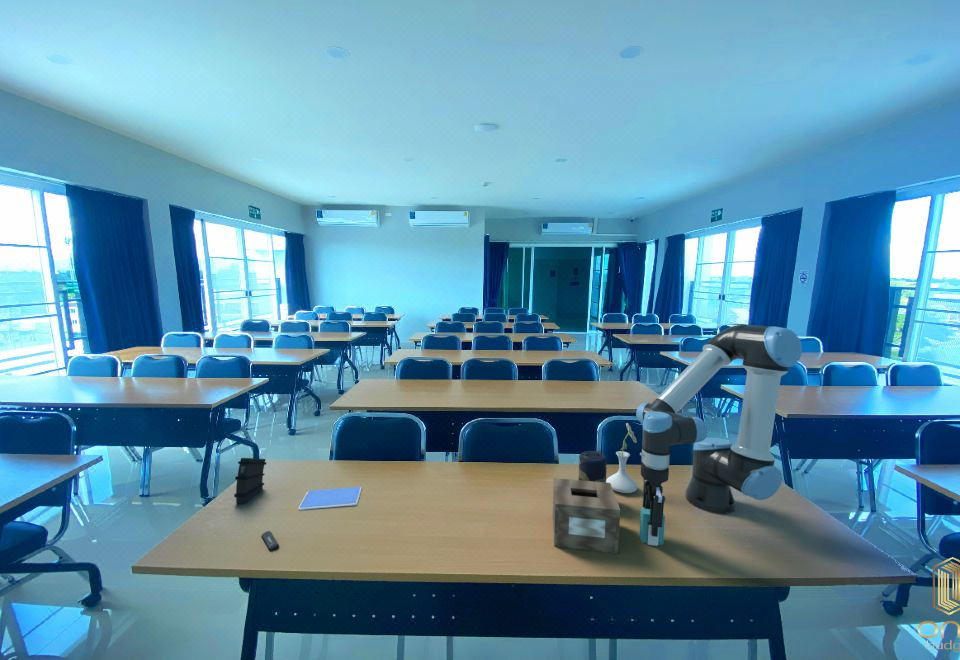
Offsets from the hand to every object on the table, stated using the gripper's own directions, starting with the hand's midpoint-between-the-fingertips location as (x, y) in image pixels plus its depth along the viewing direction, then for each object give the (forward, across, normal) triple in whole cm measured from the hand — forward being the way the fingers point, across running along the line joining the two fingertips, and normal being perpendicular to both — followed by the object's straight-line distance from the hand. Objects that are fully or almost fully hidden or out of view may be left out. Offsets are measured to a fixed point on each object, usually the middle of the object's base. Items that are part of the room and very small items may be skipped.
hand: (650, 539), depth 113 cm
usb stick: (+2, +21, -111) cm, 113 cm away
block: (0, 0, 0) cm, 0 cm away
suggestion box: (0, 0, -20) cm, 20 cm away
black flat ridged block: (+1, -1, -137) cm, 137 cm away
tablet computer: (+2, -4, -107) cm, 107 cm away
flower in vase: (+1, -32, -2) cm, 32 cm away
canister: (+1, -20, -15) cm, 25 cm away
